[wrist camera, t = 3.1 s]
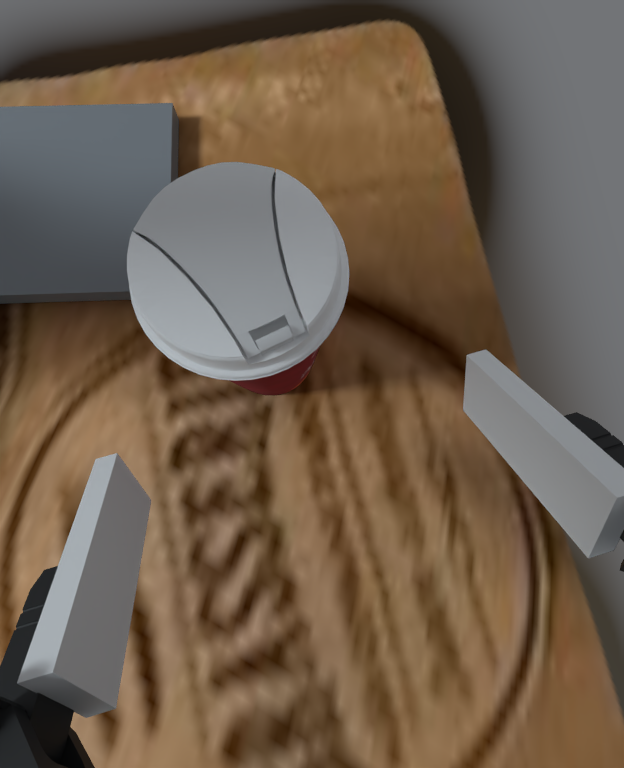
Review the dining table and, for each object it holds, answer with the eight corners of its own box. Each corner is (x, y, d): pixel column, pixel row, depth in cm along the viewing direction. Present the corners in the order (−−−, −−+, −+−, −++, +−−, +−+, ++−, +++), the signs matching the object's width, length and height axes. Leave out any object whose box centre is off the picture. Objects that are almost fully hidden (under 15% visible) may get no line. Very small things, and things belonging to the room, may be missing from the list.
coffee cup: (348, 380, 28) (396, 307, 13) (244, 431, 27) (168, 416, 12) (297, 281, 29) (287, 108, 14) (196, 328, 28) (72, 199, 13)
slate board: (-72, 305, 28) (-93, 298, 27) (-50, 124, 30) (-69, 108, 29) (175, 298, 28) (168, 290, 27) (178, 119, 31) (172, 103, 29)
